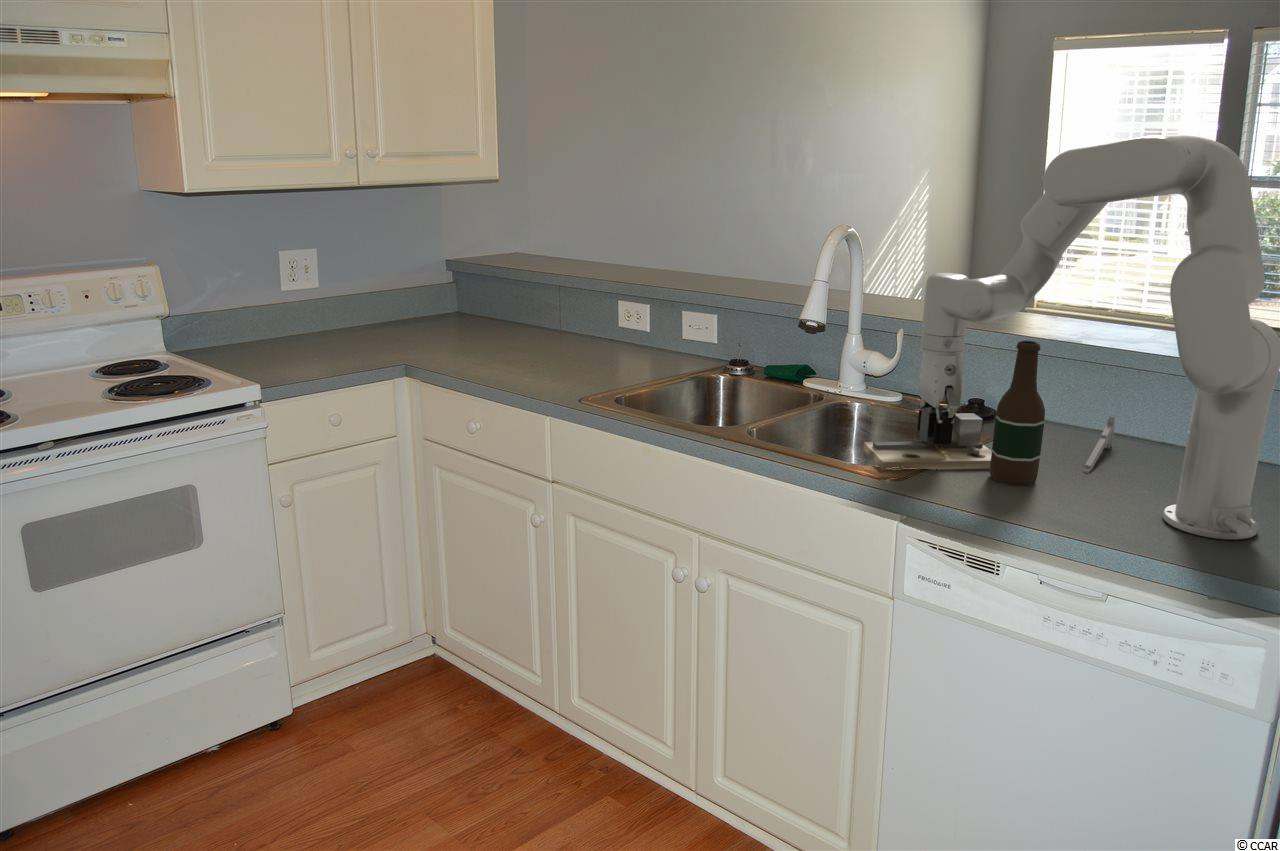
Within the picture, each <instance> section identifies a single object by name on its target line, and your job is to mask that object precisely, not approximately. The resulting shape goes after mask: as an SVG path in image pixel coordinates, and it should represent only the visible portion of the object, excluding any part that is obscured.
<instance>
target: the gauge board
mask: <svg viewBox="0 0 1280 851" xmlns="http://www.w3.org/2000/svg"><path fill="white" fill-rule="evenodd" d="M955 414H956V416H955V418H954V423H953V430H952V440H951V444H939V445H941V446H942V447H943V448H944V449H946V450H947V455H941V452H940V451H939V450H938V449H937V448H935V445H926V444H925V443H924V442H923V441H922V440H919V441H912V440H911V441H863V447H862V450H863V451H864V453H865V454H866V455H867V456H868V457H870V459H871V460H872V461H873V462H874V463H875V464H876V465H877V466H878V467H879V468H880V469H881V468H882V469H881V470H882V471H894V470H893V469H903V468H917V469H929V470H930V469H931V470H935V471H937V470H990V463H991V454H992V449H991V448H989V447H987V446H986V445H985V444H983V443H982V442H981V437H982V427H983V421H984V420H983V418H981V417H980V416H979V415H978V414H975V413H974V412H973V413H971V412H970V413H969V412H967V413H955ZM902 466H903V467H902ZM892 467H899V468H892ZM886 468H892V469H886ZM936 469H937V470H936Z"/></svg>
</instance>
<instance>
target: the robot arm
mask: <svg viewBox="0 0 1280 851" xmlns="http://www.w3.org/2000/svg"><path fill="white" fill-rule="evenodd" d="M1042 188H1043V191H1044V193H1043V194H1042V196H1041V197H1039V199H1038V200H1037V201H1036V202H1035V204H1033V206H1032V207H1031V208H1030V209H1029V210H1028V211H1027V213H1026V214H1025V215H1024V216H1023V218H1021V221H1020V231H1021V233H1022V235H1023V237H1022V243H1021V244H1020V247H1019V248H1018V250H1017V252H1016V253H1015V254H1014V256H1013V257H1012V258H1011V259H1010V261H1009V262H1008V263H1007V264H1006V265H1005V266H1004V267H1003V269H1002V270H1001V271H1000V272H999V273H998V274H994V275H991V276H986V277H980V278H969V277H968V276H967V275H965V274H961V273H956V272H955V273H954V272H937V273H933V274H931V275H929V276H928V278H927V280H926V282H925V284H926V285H925V292H924V294H925V295H924V303H923V304H924V306H923V317H922V329H921V330H922V331H921V339H920V351H921V352H922V357H921V360H920V361H921V363H920V370H919V375H918V377H919V378H918V389H917V390H918V398H919V400H920V401H919V403H918V416H917V427H916V428H917V431H919V432H920V423H921V412H922V407H934V408H936V416H937V422H935V426H934V436H933V443H934V444H951V441H952V430H953V423H954V418H955V416H956V414H957V411H958V409H959V408H961V407H962V399H963V382H964V380H963V377H964V369H963V368H964V366H963V365H964V364H963V363H964V361H963V354H964V353H965V343H966V333H967V322H970V323H975V324H980V323H981V324H983V323H988V322H992V321H996V320H998V319H999V320H1000V319H1005V318H1007V317H1011V316H1013V315H1015V314H1017V313H1019V312H1020V311H1021V310H1023V308H1025V307H1026V306H1027V305H1028V304H1029V303H1030V302H1031V300H1032V299H1033V298H1035V296H1036V295H1037V294H1038V293H1039V292H1040V291H1041V290H1042V289H1043V287H1044V286H1045V285H1046V284H1047V283H1048V282H1049V280H1050V279H1051V277H1052V276H1053V274H1054V272H1055V270H1056V269H1057V267H1058V266H1059V264H1060V262H1061V260H1062V257H1063V255H1064V253H1065V252H1066V250H1067V249H1068V248H1070V246H1071V245H1072V243H1073V242H1074V241H1075V240H1076V239H1077V238H1078V237H1079V235H1080V234H1081V233H1082V232H1083V231H1084V230H1085V229H1086V228H1087V227H1088V226H1089V225H1090V224H1091V222H1092V221H1093V220H1094V219H1095V218H1096V217H1097V215H1098V214H1100V212H1101V211H1102V210H1103V209H1104V208H1105V207H1106V206H1107V204H1108V203H1115V202H1119V201H1127V200H1133V199H1140V198H1142V199H1143V198H1151V197H1160V196H1169V195H1181V196H1183V197H1184V198H1185V201H1186V204H1187V206H1186V229H1187V233H1188V238H1189V245H1190V254H1189V255H1187V256H1186V257H1184V258H1183V259H1182V260H1181V261H1180V263H1178V265H1177V267H1176V268H1175V269H1174V271H1173V274H1172V277H1171V282H1170V288H1169V294H1170V295H1169V297H1170V305H1171V311H1172V312H1171V313H1172V319H1173V325H1174V331H1175V339H1176V344H1177V352H1178V357H1179V363H1180V366H1181V369H1182V371H1183V374H1184V375H1185V377H1186V379H1187V380H1188V381H1189V383H1190V384H1191V385H1193V387H1195V388H1196V392H1195V397H1194V400H1193V405H1192V410H1191V417H1190V422H1189V427H1188V433H1187V438H1186V445H1185V451H1184V457H1183V463H1182V468H1181V474H1180V480H1179V486H1178V487H1179V488H1178V491H1177V492H1178V493H1177V499H1176V503H1175V504H1172V505H1169V506H1166V507H1165V508H1164V509H1163V512H1162V513H1163V514H1162V518H1163V520H1164V521H1165V522H1166V523H1168V525H1170V526H1172V527H1173V528H1176V529H1178V530H1180V531H1182V532H1186V533H1189V534H1191V535H1195V536H1201V537H1204V538H1211V539H1217V540H1218V539H1219V540H1230V541H1231V540H1232V541H1233V540H1234V541H1235V540H1245V539H1249V538H1252V537H1254V536H1256V535H1257V534H1258V530H1259V529H1260V524H1259V523H1258V522H1257V521H1255V520H1254V519H1252V514H1253V510H1254V508H1253V507H1252V506H1250V505H1251V499H1252V496H1253V495H1252V494H1253V490H1254V489H1253V488H1254V484H1255V479H1256V473H1257V468H1258V464H1259V463H1258V462H1259V457H1260V454H1261V453H1260V452H1261V449H1262V442H1263V436H1264V432H1265V427H1266V423H1267V422H1266V421H1267V417H1268V412H1269V409H1270V405H1271V400H1272V396H1273V392H1274V389H1275V387H1276V386H1275V385H1276V383H1277V379H1278V376H1279V372H1280V338H1279V335H1278V334H1277V332H1276V330H1274V329H1273V328H1272V327H1271V326H1270V325H1269V324H1267V323H1266V322H1264V321H1261V320H1258V319H1255V318H1251V313H1250V306H1249V305H1250V304H1252V303H1253V302H1254V301H1255V300H1257V299H1258V298H1259V297H1260V295H1261V293H1262V291H1263V290H1264V288H1265V284H1266V274H1265V266H1264V262H1263V257H1262V250H1261V244H1260V236H1259V230H1258V229H1259V228H1258V222H1257V219H1256V214H1255V213H1256V212H1255V207H1254V201H1253V193H1252V187H1251V182H1250V178H1249V174H1248V171H1247V169H1246V167H1245V165H1244V163H1243V161H1242V159H1241V158H1240V157H1239V155H1237V154H1236V152H1234V151H1233V150H1232V149H1231V148H1230V147H1228V146H1227V145H1225V144H1223V143H1220V142H1218V141H1216V140H1213V139H1211V138H1206V137H1200V136H1195V135H1185V134H1167V135H1166V134H1156V135H1155V134H1154V135H1145V136H1140V137H1134V138H1129V139H1124V140H1119V141H1114V142H1109V143H1104V144H1097V145H1093V146H1085V147H1080V148H1079V147H1078V148H1072V149H1068V150H1066V151H1064V152H1062V153H1060V154H1058V155H1057V156H1056V157H1054V158H1053V159H1052V160H1051V162H1050V163H1049V164H1048V165H1047V167H1046V169H1045V171H1044V174H1043V178H1042ZM941 404H942V405H941ZM943 404H944V405H943ZM941 410H947V411H945V412H944V413H943V415H942V413H941Z"/></svg>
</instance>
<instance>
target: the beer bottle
mask: <svg viewBox="0 0 1280 851" xmlns="http://www.w3.org/2000/svg"><path fill="white" fill-rule="evenodd" d="M1016 348H1017V351H1016V352H1017V353H1016V360H1015V363H1014V364H1015V365H1014V369H1013V370H1014V371H1013V375H1012V380H1011V382H1010V386H1009V388H1008V389H1007V390H1006V391H1005V392H1004V394H1003V395H1002V396H1001V398H1000V400H999V402H998V404H997V408H996V411H995V412H996V413H995V419H994V420H995V421H994V428H993V429H994V430H993V439H992V447H991V451H992V454H991V463H990V469H989V475H990V477H991V478H992V479H993V480H994V481H995V482H996V483H1000V484H1004V485H1007V486H1015V487H1016V486H1017V487H1018V486H1019V487H1027V486H1030V485H1033V484H1034V483H1036V482H1037V478H1038V474H1039V470H1040V469H1039V467H1040V460H1041V452H1042V444H1043V437H1044V436H1043V435H1044V428H1045V421H1046V420H1045V418H1046V410H1045V404H1044V401H1043V399H1042V397H1041V395H1040V394H1039V392H1038V384H1037V381H1038V380H1037V378H1038V365H1039V364H1038V361H1039V360H1038V359H1039V351H1041V344H1040V343H1039V342H1036V341H1033V340H1022V341H1018V342H1017V345H1016Z"/></svg>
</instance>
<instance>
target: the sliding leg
mask: <svg viewBox="0 0 1280 851" xmlns="http://www.w3.org/2000/svg"><path fill="white" fill-rule="evenodd" d="M945 411H947V410H941V413H942V415H943V413H944V412H945ZM935 422H937V416H936V408H934V407H922V412H921V423H920V431H919V438H918V439H919V440H920V441H923V442H924V443H925V444H926V445H935V448H937V449H938V450H939V451H940V452H941V455H947V450H946V449H944V448H943V447H942V446H941V445H939V444H934V443H933V436H934V426H935Z"/></svg>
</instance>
